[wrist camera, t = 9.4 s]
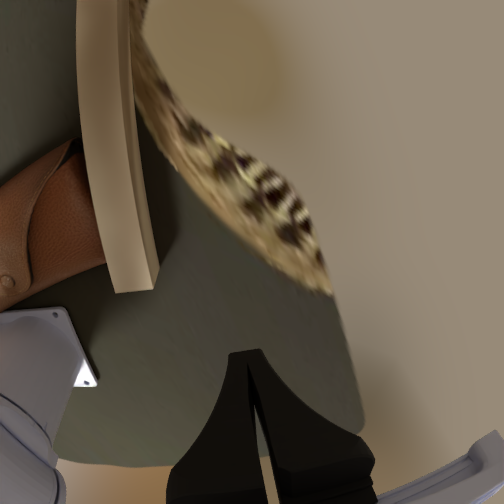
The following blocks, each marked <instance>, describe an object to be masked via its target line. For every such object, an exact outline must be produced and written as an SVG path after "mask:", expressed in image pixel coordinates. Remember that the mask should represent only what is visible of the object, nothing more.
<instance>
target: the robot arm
mask: <svg viewBox="0 0 504 504" xmlns="http://www.w3.org/2000/svg"><path fill="white" fill-rule="evenodd" d="M54 312H56V313H57V314H58V315H56V314H55V313H54ZM87 381H88V382H87ZM97 383H98V380H97V378H96V376H95V374H94V372H93V370H92V368H91V366H90V364H89V362H88V359H87V357H86V355H85V353H84V351H83V348H82V346H81V344H80V342H79V339H78V337H77V335H76V332H75V330H74V327H73V325H72V322H71V320H70V317H69V315H68V312H67V310H66V309H65V308H64V307H48V308H36V309H23V310H9V311H3V312H1V313H0V504H65V502H66V485H65V481H64V479H63V477H62V475H61V474H60V472H59V471H58V470H57V469H56V468H55V467H56V464H57V460H58V455H57V454H56V453H55V452H54V451H53V450H52V445H53V442H54V439H55V436H56V433H57V430H58V427H59V424H60V421H61V419H62V416H63V413H64V410H65V408H66V405H67V402H68V400H69V397H70V394H71V392H72V389H73V387H74V386H77V387H95V386H97ZM254 405H255V409H256V412H257V415H258V418H259V422H260V425H261V428H262V431H263V434H264V437H265V441H266V444H267V447H268V451H269V456H270V460H271V465H272V470H273V475H274V480H275V484H276V489H277V493H278V498H279V503H280V504H481V503H483V502H484V501H485V500H487V499H488V498H489V497H491V496H493V495H494V494H495V493H496V492H497V491H499V490H500V489H501V488H502V487H503V486H504V440H503V438H502V437H501V436H500V435H499V433H498V432H497V431H496V430H493V431H492V432H490V433H489V434H487V435H486V436H484V437H482V438H481V439H479V440H478V441H476V442H475V443H474V444H473V445H472V446H471V448H470V449H469V451H468V453H467V454H465V455H463V456H461V457H460V458H458V459H456V460H454V461H452V462H451V463H449V464H447V465H445V466H443V467H441V468H440V469H437V470H435V471H433V472H431V473H429V474H427V475H425V476H423V477H421V478H419V479H416V480H414V481H412V482H410V483H408V484H405V485H403V486H400V487H398V488H396V489H393V490H391V491H388V492H386V493H383V494H380V495H378V496H376V494H375V492H374V490H373V487H372V485H373V481H372V479H371V477H370V474H371V471H372V469H373V466H374V464H375V458H374V456H373V453H372V452H371V450H370V449H369V447H368V446H367V445H366V443H365V442H364V441H363V439H362V438H361V437H359V436H357V435H355V434H352V433H350V432H348V431H346V430H344V429H342V428H341V427H339V426H337V425H335V424H333V423H332V422H330V421H329V420H327V419H326V418H324V417H323V416H321V415H320V414H318V413H317V412H315V411H314V410H313V409H311V408H310V407H309V406H308V405H306V404H305V403H304V402H303V401H302V400H301V399H300V398H299V397H297V396H296V395H295V394H294V393H293V392H292V391H291V390H290V388H289V387H288V386H287V385H286V384H285V383H284V382H283V381H282V380H281V378H280V377H279V376H278V375H277V373H276V372H275V371H274V369H273V368H272V367H271V365H270V364H269V362H268V361H267V359H266V357H265V355H264V353H263V351H262V350H261V349H253V350H247V351H240V352H234V353H230V354H229V355H228V366H227V371H226V375H225V379H224V382H223V386H222V389H221V392H220V394H219V397H218V400H217V402H216V405H215V407H214V409H213V411H212V413H211V415H210V417H209V419H208V421H207V423H206V425H205V426H204V428H203V430H202V432H201V433H200V435H199V436H198V438H197V439H196V440H195V442H194V443H193V445H192V446H191V447H190V449H189V450H188V451H187V453H186V454H185V455H184V456H183V457H182V458H181V459H180V460H179V462H178V463H177V464H176V465H175V466H174V467H173V468H172V469H171V472H170V475H169V478H168V483H167V488H166V504H268V500H267V495H266V490H265V485H264V480H263V475H262V470H261V465H260V459H259V454H258V447H257V435H256V423H255V410H254Z"/></svg>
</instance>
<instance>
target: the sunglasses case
mask: <svg viewBox="0 0 504 504" xmlns="http://www.w3.org/2000/svg"><path fill="white" fill-rule="evenodd" d="M83 147H84V145H83V140H82V139H81V138H77V137H74V138H72V139H70V140H68V141H67V142H65V143H63V144H62V145H60V146H59V147H57V148H55V149H54V150H52V151H50V152H49V153H47V154H46V155H44V156H43V157H41V158H39V159H38V160H36V161H35V162H34V163H32V164H30V165H29V166H28V167H26V168H25V169H23V170H22V171H21V172H19V173H18V174H17V175H15V176H14V177H13V178H11V179H10V180H9V181H7V182H6V183H5V184H4V185H2V186H1V187H0V313H1V312H3V311H4V310H6V309H8V308H9V307H11V306H13V305H14V304H16V303H18V302H20V301H22V300H24V299H26V298H28V297H30V296H31V295H33V294H35V293H37V292H39V291H41V290H43V289H45V288H48V287H50V286H51V285H54V284H56V283H58V282H60V281H62V280H64V279H66V278H68V277H71V276H73V275H75V274H78V273H80V272H83V271H86V270H88V269H90V268H93V267H96V266H98V265H101V264H104V263H106V262H107V261H106V257H105V254H104V250H103V246H102V241H101V237H100V233H99V229H98V224H97V220H96V215H95V210H94V205H93V200H92V195H91V190H90V184H89V178H88V172H87V166H86V159H85V153H84V149H83Z"/></svg>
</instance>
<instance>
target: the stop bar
mask: <svg viewBox="0 0 504 504" xmlns="http://www.w3.org/2000/svg"><path fill="white" fill-rule="evenodd" d="M76 62H77V84H78V98H79V110H80V120H81V129H82V138H83V145H84V153H85V159H86V166H87V172H88V178H89V184H90V190H91V195H92V200H93V205H94V210H95V215H96V220H97V224H98V229H99V233H100V237H101V241H102V246H103V250H104V254H105V257H106V261H107V265H108V269H109V272H110V276H111V280H112V283H113V287H114V290H115V293H123V292H132V291H141V290H150V289H153V288H154V285H155V282H156V279H157V275H158V272H159V269H160V266H159V261H158V256H157V251H156V247H155V241H154V236H153V231H152V226H151V220H150V215H149V209H148V203H147V197H146V191H145V185H144V178H143V172H142V165H141V157H140V150H139V142H138V134H137V125H136V116H135V106H134V95H133V83H132V69H131V52H130V28H129V0H77V14H76Z"/></svg>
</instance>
